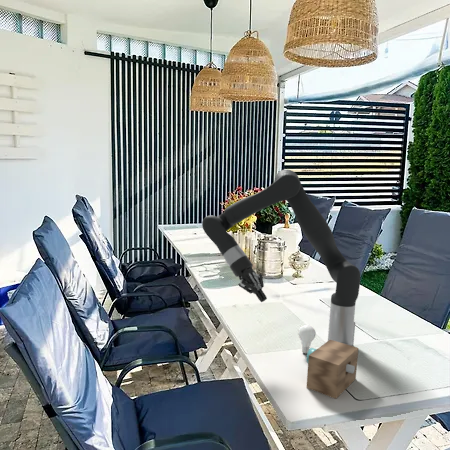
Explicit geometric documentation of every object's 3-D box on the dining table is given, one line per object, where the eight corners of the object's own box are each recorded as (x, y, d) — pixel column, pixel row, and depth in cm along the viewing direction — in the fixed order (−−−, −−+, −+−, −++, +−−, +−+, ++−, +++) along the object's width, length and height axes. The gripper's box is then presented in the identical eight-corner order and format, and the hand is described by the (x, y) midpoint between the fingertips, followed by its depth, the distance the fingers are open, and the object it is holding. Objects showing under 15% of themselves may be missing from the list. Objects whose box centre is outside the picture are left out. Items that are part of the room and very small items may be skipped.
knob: (305, 365, 147) (307, 350, 146) (313, 360, 151) (314, 345, 150) (349, 380, 138) (350, 365, 137) (355, 374, 142) (357, 359, 141)
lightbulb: (312, 349, 169) (314, 322, 167) (315, 357, 163) (318, 328, 161) (295, 349, 169) (297, 321, 167) (298, 357, 163) (300, 328, 161)
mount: (301, 385, 143) (303, 353, 141) (322, 367, 155) (325, 338, 153) (336, 398, 136) (338, 365, 134) (355, 379, 148) (358, 347, 146)
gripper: (233, 258, 156) (261, 299, 150) (253, 252, 166) (280, 290, 161) (220, 269, 160) (247, 310, 154) (241, 263, 170) (267, 301, 165)
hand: (264, 300), depth 158 cm, fingers closed
